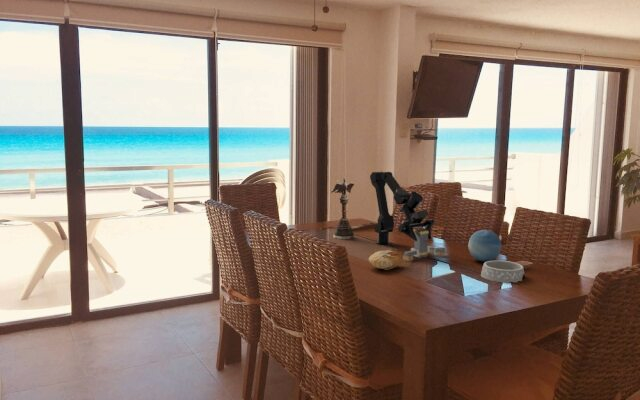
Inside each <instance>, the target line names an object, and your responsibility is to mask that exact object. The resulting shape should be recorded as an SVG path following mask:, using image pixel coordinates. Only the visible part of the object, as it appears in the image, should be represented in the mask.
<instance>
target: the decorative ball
mask: <svg viewBox="0 0 640 400" xmlns="http://www.w3.org/2000/svg"><path fill="white" fill-rule="evenodd" d="M467 247H468V251H469V254H470V255H471V256H472V257H473V258H474V259H475V260H477V261H479V262H482V263H485V262H487V261H495V260H496V259H497V258H498V257H499V255H500V253H501V251H502V242H501V238H500V237H499V236H498V234H496V233H495V232H494V231H491V230H489V229H481V230H478V231H475V232H474V233H473V234H472V235H471V237H470V238H469V241H468V244H467Z"/></svg>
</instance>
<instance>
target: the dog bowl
mask: <svg viewBox="0 0 640 400" xmlns="http://www.w3.org/2000/svg"><path fill="white" fill-rule="evenodd" d="M480 276H481V278H483V279H486V280H488V281H492V282H498V283H508V282H509V283H508V284H510V282H513V283H519V282H518V281H521V282H522V281H523V277H524V278H526V275H525V270H524V266H523V265H522V264H520V263H517V262H514V261H507V260H498V259H497V260H496V259H495V260H492V261H487V262H483V265H482V269H481V273H480Z"/></svg>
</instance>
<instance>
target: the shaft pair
mask: <svg viewBox="0 0 640 400" xmlns="http://www.w3.org/2000/svg"><path fill="white" fill-rule="evenodd" d="M427 252H428V254H432V255H436V256H437V257H440V258H442V257H447V252H446V248H445V247H444V246H443V247H441V246H440V247H434V246H431V245H428V246H427ZM405 253H406V254H405ZM404 254H405V256H402V261H405V259H406V262H409V261H408V260H410V262H412V261H414V257H415V256H417V257H416V258H418V256H419V250H418V249H415V248H414V247H411V248H410V250H408V251H404ZM404 254H403V255H404ZM406 255H407V257H406ZM409 256H411V257H409Z"/></svg>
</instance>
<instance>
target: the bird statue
mask: <svg viewBox="0 0 640 400" xmlns="http://www.w3.org/2000/svg"><path fill="white" fill-rule="evenodd" d="M354 186H355V182H350V183H348V182H347V178H346V177H343V183H340V182H339V180H338V179H337V180H336V184H335V185H334V188H333V189H331V190H330V194H332V193H335V194H337V193H338V194H341V196H340V198H339V202H340V204H341V211H340V212H341V215H342V216H341V218H340V219H339V220H340V221H339V222H338V225H337V226H336V228H335V232H334V234H333V238H334V239H335V238H337V239H336V240H351V239H354V238H355V234H354V232H353V229H352V227H351V225H350V222H349V218H347V204H348V203H349V197H348V195H347V192H348V193H349V194H351V191H352V188H353V187H354Z"/></svg>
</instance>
